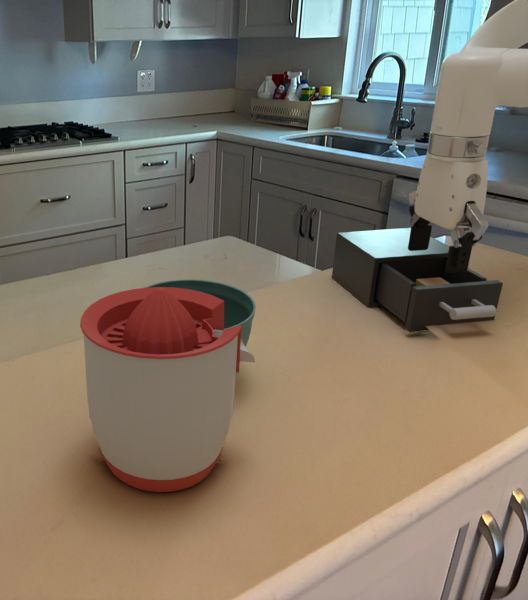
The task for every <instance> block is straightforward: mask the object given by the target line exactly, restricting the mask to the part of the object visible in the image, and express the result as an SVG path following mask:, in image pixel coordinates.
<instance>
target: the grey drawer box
mask: <svg viewBox="0 0 528 600" xmlns="http://www.w3.org/2000/svg"><path fill="white" fill-rule="evenodd" d="M410 231H411V227H403V228H402V227H401V228H388V229H375V230H374V229H373V230H371V229H370V230H357V231H342V232H336V237H335V247H334V253H333V254H334V255H333V262H332V271H331V272H332V273H331V278H332V280H334V281H335V282H337V283H338V284H339V285H340V286H341V287H342V288H344V289H345V290H346V291H347V292H348V293H350V294H351V295H352V296H353V297H354V298H356V299H357V300H358V301H360V303H361V304H363V305H364V306H365V307H367V308H369V309H370V308H377V307H378V308H379V306H381V307H384V306H383V305H382V304H381V303H379V302H378V301H377V300H376V299H374V293H375V287H376V280H377V273H378V267H379V263H380V262H393V261H407V260H420V259H434V258H447V257H448V251H449V247H450V246H451V245H448V244H446V243H444V242H442V241H440V240H438V239H436V238H435V237H432V236H431V235H430V241H429V246H428V249H427V250H418V251H410V250H408V244H409V237H410Z"/></svg>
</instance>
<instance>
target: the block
mask: <svg viewBox="0 0 528 600" xmlns="http://www.w3.org/2000/svg"><path fill="white" fill-rule="evenodd" d="M442 284H450V283H449V282H447V281H445V280H444V279H442V278H440V277H439V278H426V279H416V287H417V286H429V285H442Z"/></svg>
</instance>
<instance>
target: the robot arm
mask: <svg viewBox="0 0 528 600" xmlns="http://www.w3.org/2000/svg"><path fill="white" fill-rule="evenodd" d="M527 43H528V0H512V1H511V2H510V3H507V4H506V5H505V6H503V7H502V8H500V9H499V10H497V11H496V12H495V13H493V15H491V16H490V17H488V19H486V20H485V21H484V22H483V23H482V24H481V25H480V26H479V27H478V28H477V29H476V30H475V32H474V33H473V35H472V36H471V37H470V38H469V39H468V40H467V42H466V43H465V44H464V46H463V47H462V48H461V49H460V51H459V52H456V53H455V52H454V53H451V54H449V55H447V56H446V57H445V58H444V59H443V61H442V62H441V66H440V70H439V76H438V82H437V89H436V94H435V96H436V97H435V102H434V106H433V112H432V118H431V124H430V131H429V137H428V142H427V148H426V155H425V157H424V160H423V164H422V168H421V170H420V174H419V179H418V183H417V188H416V190H414V191H411V192H410V193H409V194H408V202H409V208H408V211H409V216H410V217H411V218H410V219H409V224H410V228H411V231H410V237H409V244H408V250H410V251H418V250H427V249H428V246H429V241H430V236H431V234H432V229H433V225H436V226H438V228H441V229H444V230H447V231H449V233H450V238H451V241H452V244H453V245H449V246H450V247H449V251H448V257H447V262H446V267H445V271H446V272H448V273H453V272H465V271H467V269H468V268H469V264H470V259H471V254H472V250H473V247H476V246H477V244H478V242H479V241H481V240H482V238H483V235H484V234H485V233H486V232H487V230H488V228H489V225H490V224H489V222H488V220H487V219H486V217H485V216H484V211H485V206H486V199H487V191H488V182H489V181H488V179H489V164H488V162H489V161H488V160H487V159H486V156H487V151H488V146H489V141H490V137H491V132H492V127H493V121H494V117H495V112H496V108H497V107H511V108H528V48H521V47H522V46H524V45H526V44H527ZM431 224H433V225H431ZM460 232H463V233H464V235H462V236H461V233H460Z"/></svg>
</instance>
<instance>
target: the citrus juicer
mask: <svg viewBox="0 0 528 600" xmlns="http://www.w3.org/2000/svg"><path fill="white" fill-rule="evenodd" d="M79 327H80V329H81V332H82V334H83V344H84V346H83V347H84V363H85V377H86V378H85V380H86V398H87V405H88V406H87V407H88V415H89V418H90V423H91V426H92V429H93V434H94V436H95V439H96V442H97V444H98V448H99V451H100V454H101V456H102V458H103V460H104V461H105V463H106V464H107V467H108V468H109V469H110V471H111V472H112V474H113V475H114V476H115V477H116V478H117V479H118V480H119V481H121V482H123V483H125V484H126V485H128V486H131V487H133V488H135V489H138V490H142V491H146V492H155V493H168V492H169V493H171V492H177V491H181V490H182V491H183V490H185V489H188V488H191V487H193V486H196V485H197V484H199V483H200V482H202V481H203V480H204V479H205V478H206V477H207V476H209V474H210V473H211V472H212V470H213V468H214V467H215V465H216V463H217V462H218V460H219V458H220V457H221V454H222V451H223V448H224V444H225V443H226V440H227V436H228V434H229V430H230V425H231V423H232V419H233V413H234V407H235V406H234V405H235V396H236V395H235V393H236V377H237V376H236V375H237V374H239V373H240V364H241V363H243V362H244V363H256V360H255V357H254V355H253V354H252V352H250V351H249V349H248V348H247V346H246V347H245V345H244V343H243V341H242V339H241V328H242V327H241V325H238V326H235V327H231V328H227V329H225V330H224V301H223V300H221V299H219V298H217V297H215V296H213V295H210V294H207V293H203V292H200V291H195V290H190V289H183V288H173V287H148V288H144V287H141V288H132V289H127V290H122V291H118V292H115V293H111V294H108V295H106V296H104V297H102V298H99V299H98V300H96V301H95V302H93V303H91V304H90V305H89V306H88V307H87V308H86V309H85V310H84V311H83V313H82V315H81V317H80V323H79Z"/></svg>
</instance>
